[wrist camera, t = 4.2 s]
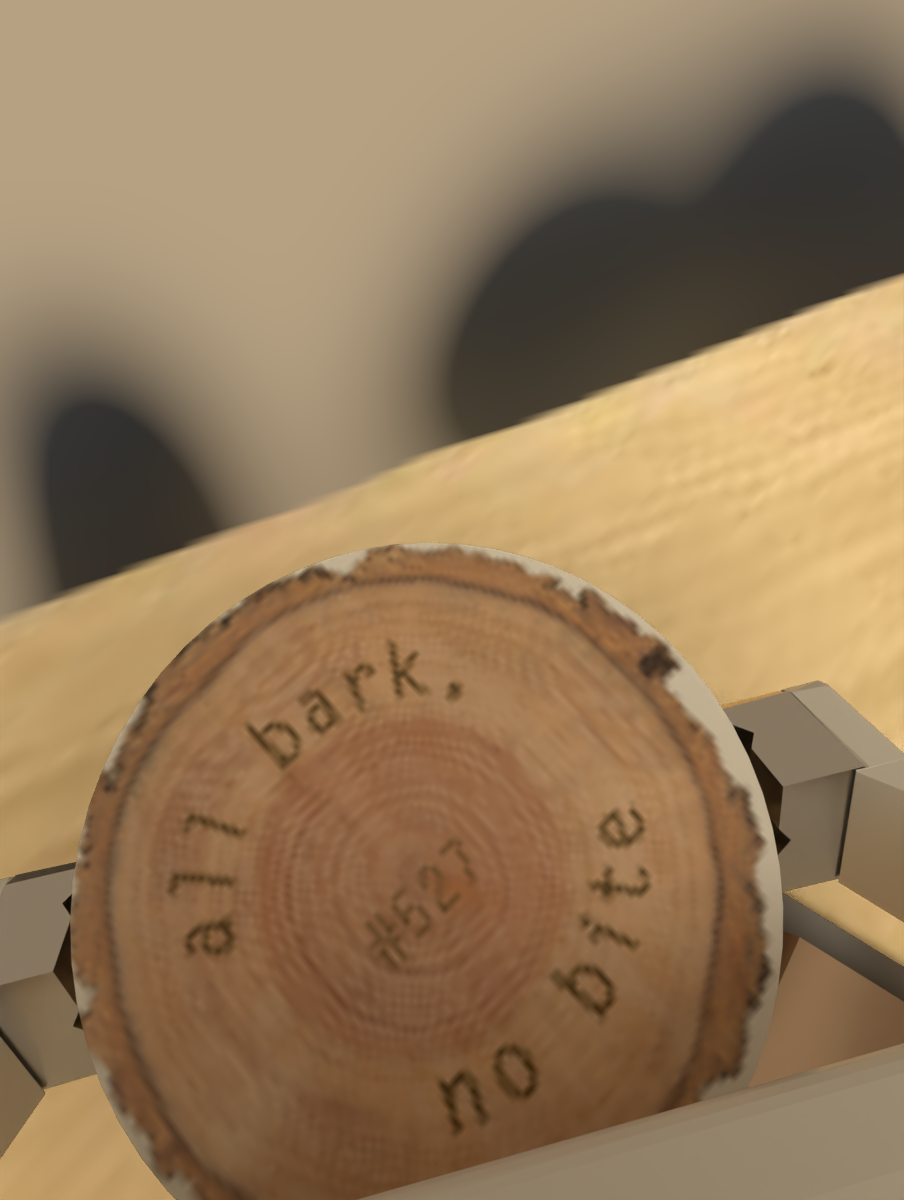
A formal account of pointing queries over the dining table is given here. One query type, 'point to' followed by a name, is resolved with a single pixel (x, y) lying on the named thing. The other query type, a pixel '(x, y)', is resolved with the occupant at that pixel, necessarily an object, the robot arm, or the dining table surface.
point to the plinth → (828, 998)
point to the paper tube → (418, 882)
